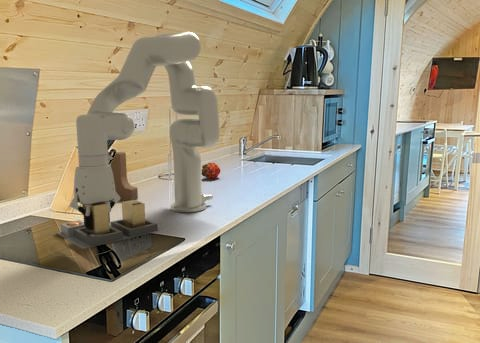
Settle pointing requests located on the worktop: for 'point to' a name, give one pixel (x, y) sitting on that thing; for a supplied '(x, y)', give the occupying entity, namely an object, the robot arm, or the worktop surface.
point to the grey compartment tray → (116, 233)
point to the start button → (73, 223)
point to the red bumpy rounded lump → (210, 170)
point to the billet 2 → (133, 213)
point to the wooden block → (122, 178)
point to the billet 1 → (99, 218)
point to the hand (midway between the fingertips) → (97, 226)
